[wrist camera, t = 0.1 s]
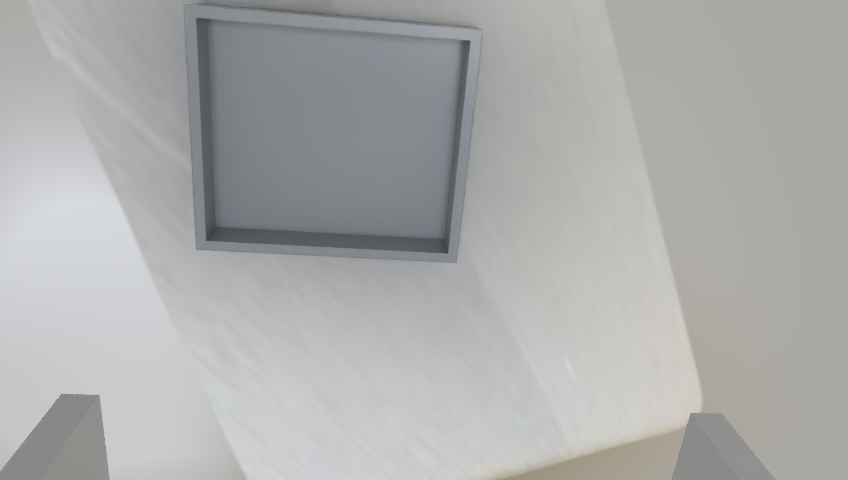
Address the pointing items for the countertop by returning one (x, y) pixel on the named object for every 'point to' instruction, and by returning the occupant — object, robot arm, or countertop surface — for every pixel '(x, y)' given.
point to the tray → (329, 132)
